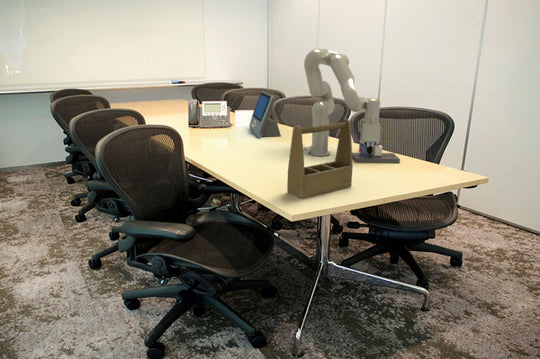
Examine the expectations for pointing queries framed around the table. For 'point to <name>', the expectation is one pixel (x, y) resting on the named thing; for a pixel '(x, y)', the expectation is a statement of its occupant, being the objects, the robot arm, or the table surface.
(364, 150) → the ink cartridge box
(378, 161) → the panel
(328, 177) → the caddy
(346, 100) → the robot arm
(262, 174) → the table surface
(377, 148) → the fader
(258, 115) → the touchscreen device
